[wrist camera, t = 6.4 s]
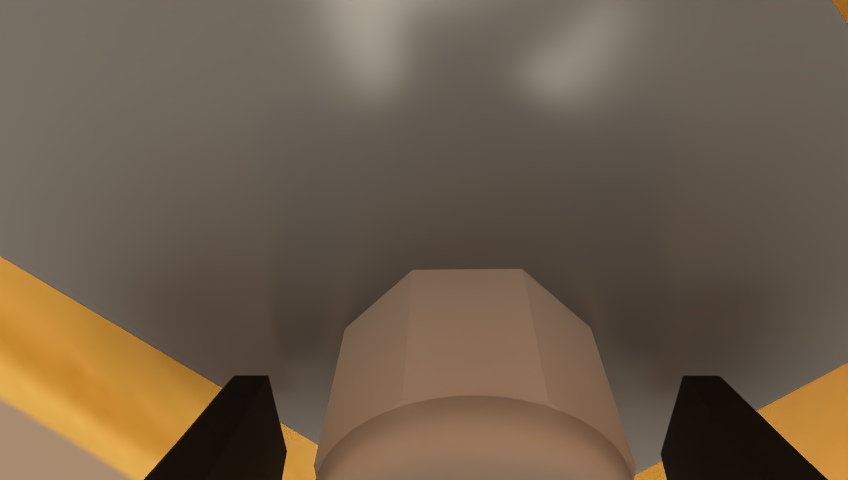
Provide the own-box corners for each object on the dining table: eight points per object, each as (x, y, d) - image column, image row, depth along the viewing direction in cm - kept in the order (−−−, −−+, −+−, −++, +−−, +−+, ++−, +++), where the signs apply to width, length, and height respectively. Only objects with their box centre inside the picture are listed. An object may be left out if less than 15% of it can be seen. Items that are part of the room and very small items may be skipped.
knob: (641, 365, 11) (739, 602, 7) (465, 474, 13) (473, 704, 9) (467, 214, 9) (481, 424, 6) (295, 365, 11) (224, 593, 8)
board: (966, 243, 11) (1170, 385, 8) (491, 512, 15) (502, 662, 12) (330, -692, 5) (190, -1389, 2) (-83, 154, 10) (-298, 264, 7)
